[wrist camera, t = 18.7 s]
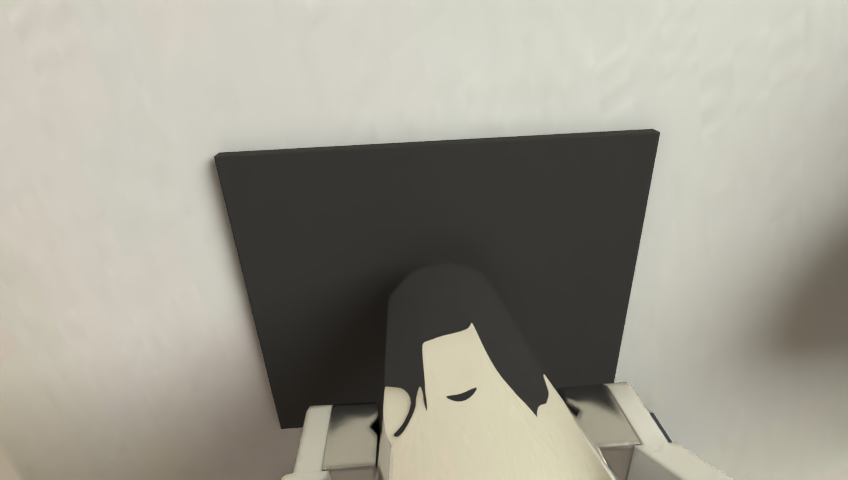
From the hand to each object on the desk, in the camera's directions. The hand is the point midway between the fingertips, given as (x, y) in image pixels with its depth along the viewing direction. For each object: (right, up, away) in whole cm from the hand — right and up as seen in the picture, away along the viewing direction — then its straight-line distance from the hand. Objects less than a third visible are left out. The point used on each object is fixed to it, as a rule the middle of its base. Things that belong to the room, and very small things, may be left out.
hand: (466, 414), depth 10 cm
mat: (0, +2, +5) cm, 5 cm away
